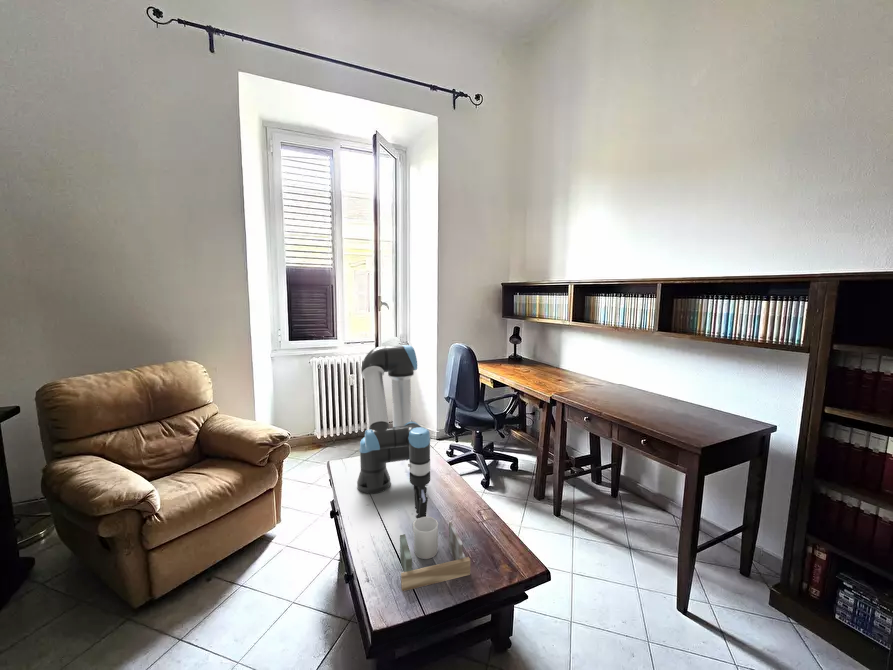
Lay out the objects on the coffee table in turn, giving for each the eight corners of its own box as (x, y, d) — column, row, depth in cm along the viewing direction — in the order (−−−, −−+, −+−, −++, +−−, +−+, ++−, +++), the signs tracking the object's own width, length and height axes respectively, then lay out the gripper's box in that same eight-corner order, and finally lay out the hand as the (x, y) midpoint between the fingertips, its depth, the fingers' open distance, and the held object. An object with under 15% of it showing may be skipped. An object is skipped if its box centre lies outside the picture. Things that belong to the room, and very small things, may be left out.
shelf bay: (395, 560, 122) (394, 533, 121) (459, 546, 129) (459, 520, 127) (402, 591, 110) (401, 561, 108) (473, 573, 116) (473, 545, 115)
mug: (404, 543, 130) (403, 517, 128) (423, 534, 135) (423, 508, 134) (422, 563, 120) (422, 535, 119) (442, 552, 125) (442, 525, 124)
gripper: (406, 464, 136) (407, 522, 139) (413, 482, 124) (414, 545, 127) (425, 461, 138) (426, 518, 141) (434, 478, 126) (435, 540, 129)
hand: (420, 531), depth 134 cm, fingers closed
